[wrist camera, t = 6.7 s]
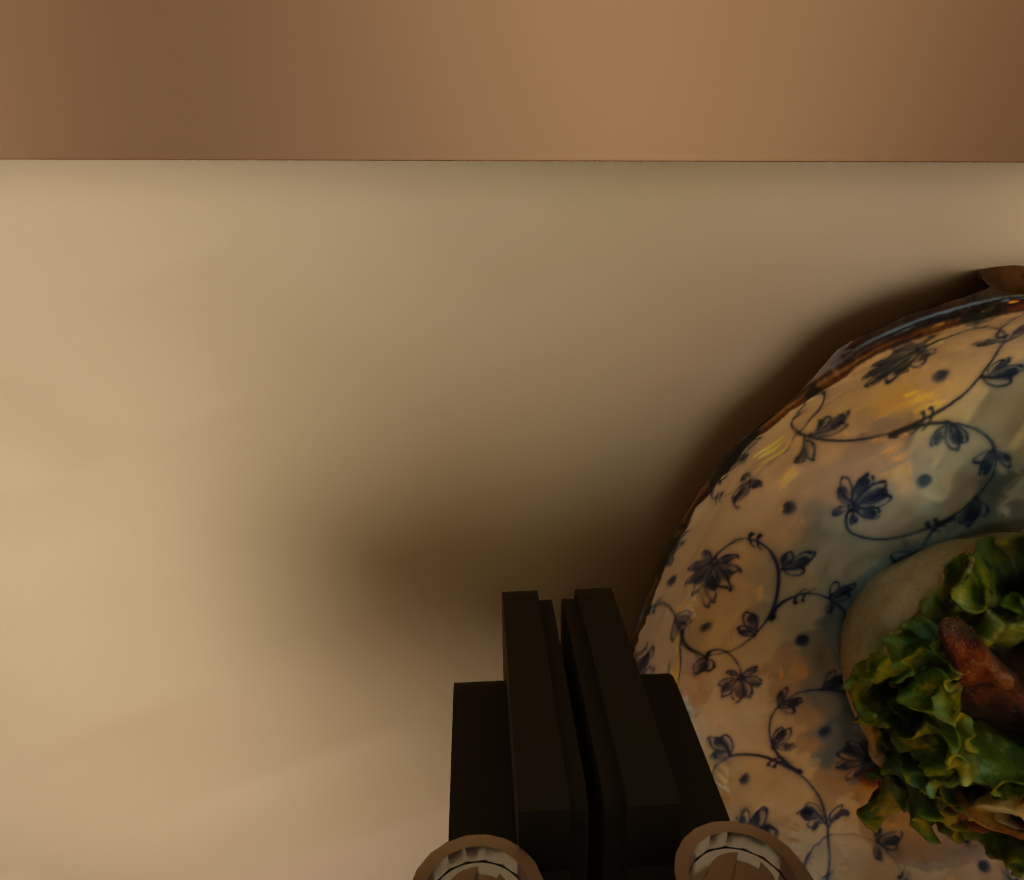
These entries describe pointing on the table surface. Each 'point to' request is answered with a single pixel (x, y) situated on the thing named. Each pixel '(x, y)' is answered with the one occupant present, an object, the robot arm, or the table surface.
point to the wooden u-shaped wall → (513, 80)
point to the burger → (867, 604)
